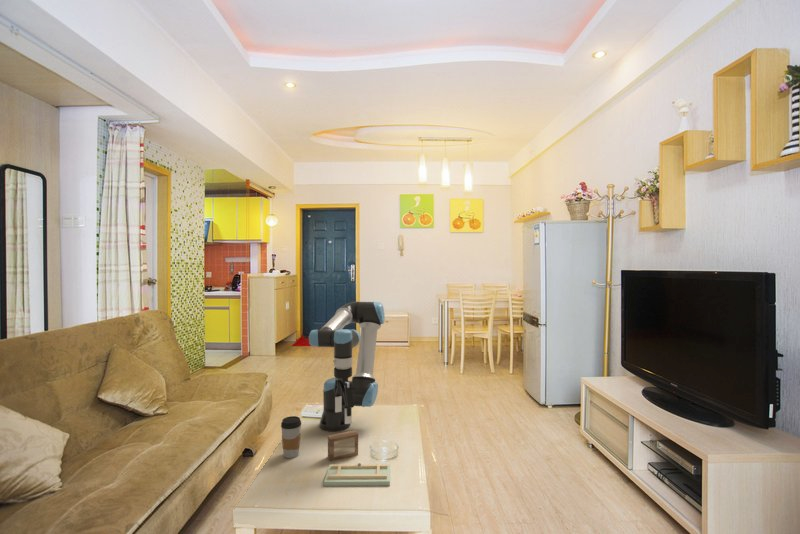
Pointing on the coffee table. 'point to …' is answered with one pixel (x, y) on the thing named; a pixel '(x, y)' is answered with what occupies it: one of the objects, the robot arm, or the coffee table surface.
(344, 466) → the mint cabinet door
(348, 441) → the brown wooden picture frame
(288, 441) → the coffee cup
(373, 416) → the coffee table surface
